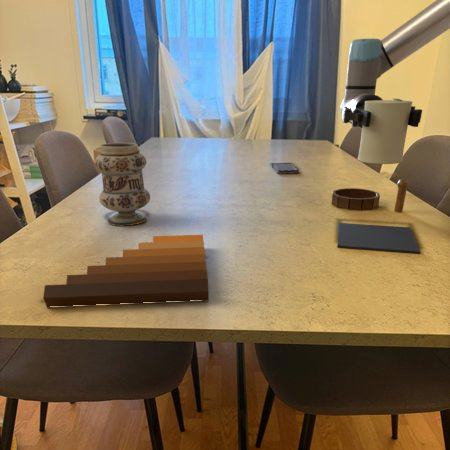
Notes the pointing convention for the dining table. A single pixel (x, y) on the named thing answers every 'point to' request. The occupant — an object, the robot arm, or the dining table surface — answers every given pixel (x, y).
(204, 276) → the pan flute
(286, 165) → the phone
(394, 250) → the mat
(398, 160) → the can
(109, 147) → the apothecary jar
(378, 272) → the dining table surface
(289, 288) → the dining table surface
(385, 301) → the dining table surface
